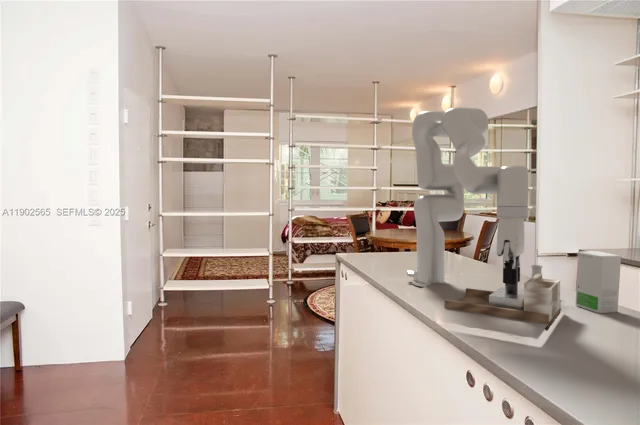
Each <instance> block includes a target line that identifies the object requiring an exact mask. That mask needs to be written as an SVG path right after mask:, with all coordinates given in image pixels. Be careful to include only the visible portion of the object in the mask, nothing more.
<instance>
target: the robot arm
mask: <svg viewBox="0 0 640 425" xmlns="http://www.w3.org/2000/svg"><path fill="white" fill-rule="evenodd" d="M488 126H489V117H488V115H487V114H486V112H485V111H484V110H482V109H481V108H477V107H463V106H462V107H458V106H456V107H451V108H449V109H446V111H442V110H425V111H421V112H419V113H418V114H416V116H415V117H414V119H413V122H412V126H411V134H412V136H411V137H412V141H413V145H414V148H415V149H414V150H415V154H416V155H415V156H416V180H417V185H418V187H419V189H420V190H423V191H431V192H432V191H435V192H438V191H439V192H440V191H441V192H442V191H443V192H444V193H443V194H438V193H437V194H435V193H434V194H430V193H429V194H423V195H420V196H419V197H418V198H416V199H415V201H414V204H413V213H414V218H415V226H416V270H407V271H406V276H407V277H410V278H412V277H413V279H412V281H411V282H412V285H413V286H417V287H420V288H425V287H428V286H430V285H432V284H445V285H446V284H447V285H450V281H449V280H447V279H445V277H446V276H445V268H446V267H445V265H446V264H445V254H446V253H445V252H446V251H445V249H446V248H445V247H446V245H445V244H446V242H445V241H446V239H445V237H446V236H445V232H444V230H443V228H442V226H441V224H440V222H455V221H459V220H460V219H461V218H462V217H463V214H464V211H465V210H464V209H465V198H464V196H465V195H464V194H465V193H464V192H465V191H466V192H467V193H470V194H472V195H473V194H474V195H475V194H476V195H480V194H481V195H483V194H484V195H485V194H489V195H495V194H496V219H498V223H497V224H498V225H497V233H496V234H497V235H496V250H495V251H496V252H495V253H496V256H497V257H502V263H503V264H502V283H503V284H504V285H505V284H514V285H515V284H516V275H517V269H515V261H516V259H518V283H519V282H521V255H522V254H524V251H525V220H528V219H529V185H530V184H529V181H530V180H529V174H530V172H529V169H528V167H527V166H525V165H505V166H504V165H503V166H482V165H481V166H477V165H475V163H474V162H473V160H472V159H471V157H474V156H476V155H477V154H479V153H480V152H481V151H482V150H483V149H484V146H485V145H486V138H485V136H484V134H485V132H486V131H487V129H488ZM434 137H442V138H448V139H449V140H450V141H451V143H452V145H453V147H454V148H455V150H456V153H455V155H454V159H453V163H443V162H442V150H441V147H440V146H439V144H438V142H437V141H436V140H435V138H434ZM464 190H465V191H464ZM510 259H512V260H510Z"/></svg>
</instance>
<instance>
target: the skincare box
mask: <svg viewBox="0 0 640 425" xmlns="http://www.w3.org/2000/svg"><path fill="white" fill-rule="evenodd" d="M577 253H578V254H577V270H576V271H577V272H576V274H577V275H576V290H575V291H576V293H575V306H576V307H580V308H582V309H585V310H588V311H591V312H594V313H597V314H609V313H618V312H619V310H618V309H619V296H620V295H619V294H620V292H619V291H620V281H621V280H620V278H621V265H622V264H621V262H622V256H621V255H618V254H614V253H608V252H603V251H598V250H587V251H581V250H580V251H578V252H577Z"/></svg>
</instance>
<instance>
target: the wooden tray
mask: <svg viewBox="0 0 640 425" xmlns="http://www.w3.org/2000/svg"><path fill="white" fill-rule="evenodd" d="M523 285H524V286H523V290H524V311H523V310H516V309H509V308H502V307H495V306H489V295H490V294H492V293H494V292H495V291H493V290H484V289H476V288H470V287H469V288H468V287H467V288H465V295H463V296H462V297H460V298H459V299H457V300H453V299H444V309H450V310H457V311H461V312H468V313H475V314H482V315H487V316H488V315H489V316H492V317H493V316H494V317H495V316H496V317H501V318H508V319H514V320H520V321H526V322H532V323H537V324H538V323H539V324H545V325H546V326H545V328H544V329H545V330H544V331H548V330H550V328H551V327H552V325H553V324H554V322H555V321H556V320H555V319H557V318H558V317H559V315H560V314H561V302H562V301H561V280H560V279H551V278H543V273H542V274H536V275H535V276H533V277H532V278H531V277H530V278H529V279H528V280H527V281H526V282H524V283H523ZM550 326H551V327H550Z"/></svg>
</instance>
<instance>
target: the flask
mask: <svg viewBox="0 0 640 425" xmlns="http://www.w3.org/2000/svg"><path fill="white" fill-rule="evenodd" d="M530 267H531V276H530V279H531V278H532V277H533V276H535V275H536V274H542V275H543V273H542V269H543V265H540V264H531V265H530Z"/></svg>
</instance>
